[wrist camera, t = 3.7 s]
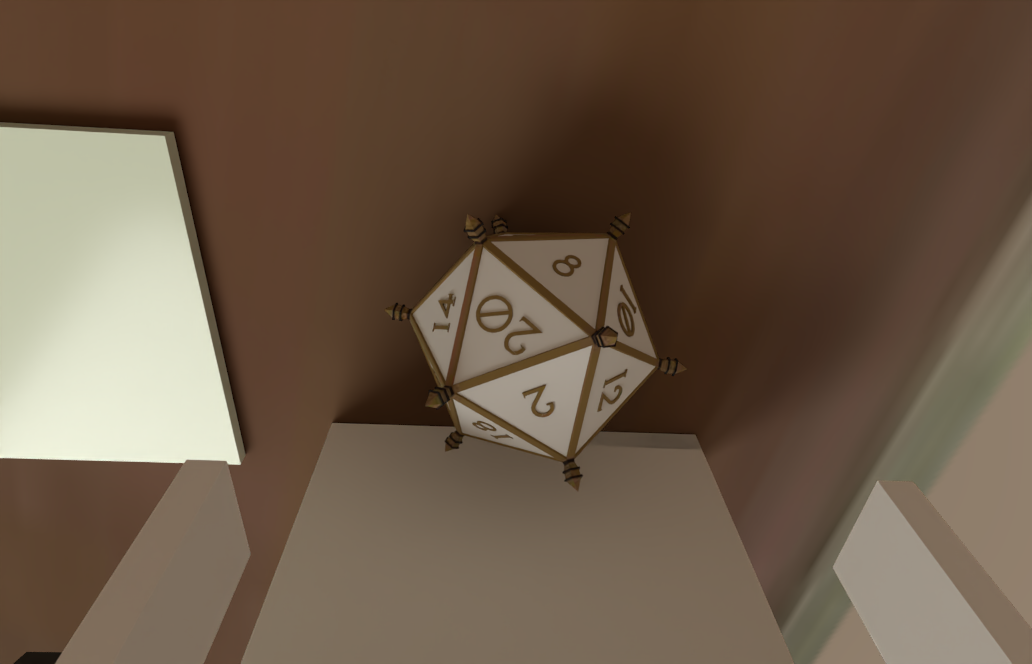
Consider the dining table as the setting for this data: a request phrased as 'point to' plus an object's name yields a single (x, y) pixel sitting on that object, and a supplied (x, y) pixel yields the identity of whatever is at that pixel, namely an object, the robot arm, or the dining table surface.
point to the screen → (512, 558)
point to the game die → (535, 340)
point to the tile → (105, 303)
